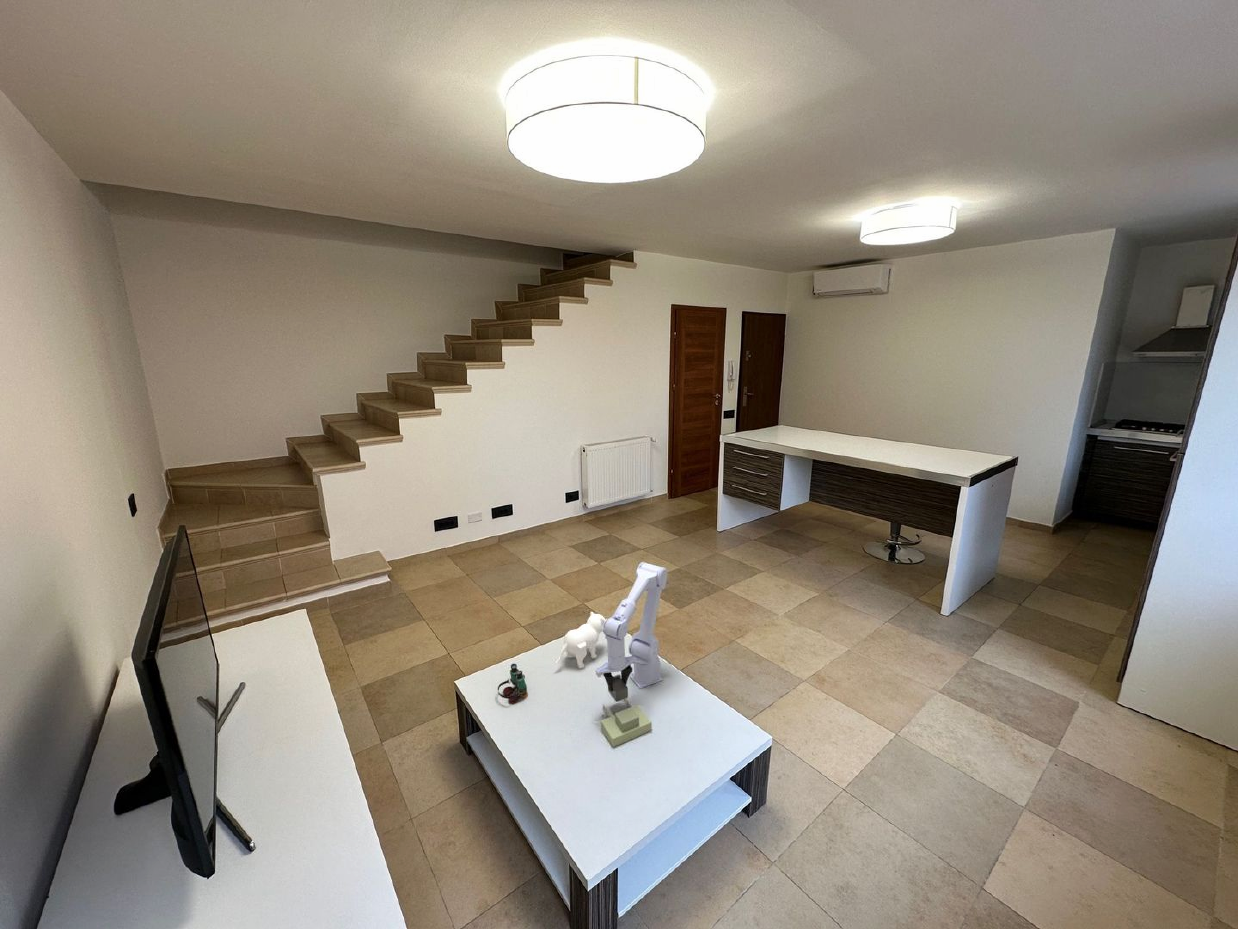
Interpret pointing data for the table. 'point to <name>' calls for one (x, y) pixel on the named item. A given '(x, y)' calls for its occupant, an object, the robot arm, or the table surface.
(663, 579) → the robot arm
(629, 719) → the green post base
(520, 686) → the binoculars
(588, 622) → the cat figurine
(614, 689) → the grey overhanging lid block
